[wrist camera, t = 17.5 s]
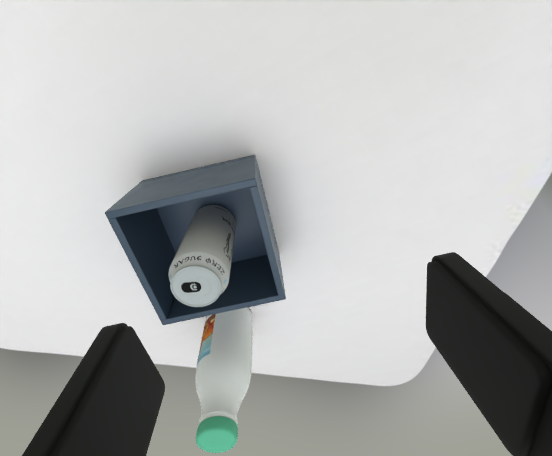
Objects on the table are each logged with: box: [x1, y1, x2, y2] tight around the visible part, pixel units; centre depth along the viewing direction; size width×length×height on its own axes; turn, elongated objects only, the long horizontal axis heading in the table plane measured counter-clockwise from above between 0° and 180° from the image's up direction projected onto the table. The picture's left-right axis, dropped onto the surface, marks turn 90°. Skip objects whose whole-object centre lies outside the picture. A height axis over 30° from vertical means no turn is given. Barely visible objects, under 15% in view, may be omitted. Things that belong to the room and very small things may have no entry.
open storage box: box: [105, 155, 286, 325], centre depth 38 cm, size 16×16×11 cm
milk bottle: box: [195, 307, 252, 453], centre depth 42 cm, size 8×8×20 cm
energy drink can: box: [168, 205, 236, 307], centre depth 35 cm, size 6×6×15 cm
